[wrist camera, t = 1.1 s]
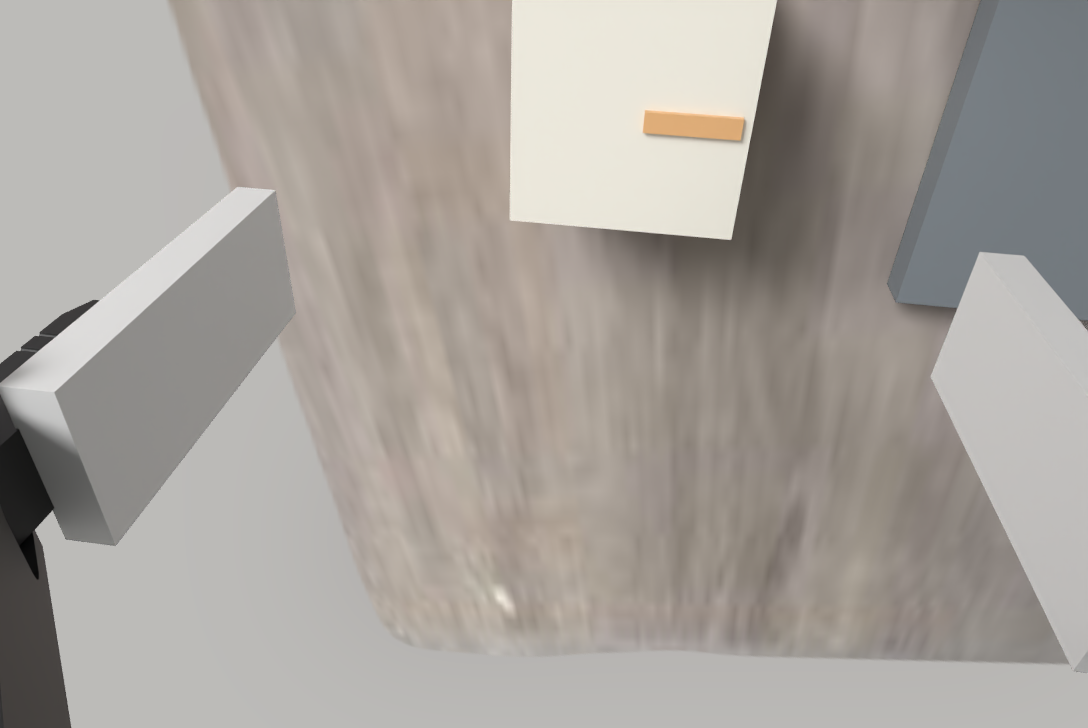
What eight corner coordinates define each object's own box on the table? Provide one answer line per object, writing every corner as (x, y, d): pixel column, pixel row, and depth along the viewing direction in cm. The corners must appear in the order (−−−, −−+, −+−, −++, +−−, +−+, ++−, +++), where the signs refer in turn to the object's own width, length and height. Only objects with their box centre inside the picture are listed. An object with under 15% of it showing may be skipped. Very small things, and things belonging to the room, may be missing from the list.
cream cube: (545, -54, 26) (511, -20, 21) (754, -42, 26) (778, -3, 20) (538, 147, 30) (508, 223, 25) (719, 162, 30) (731, 242, 24)
